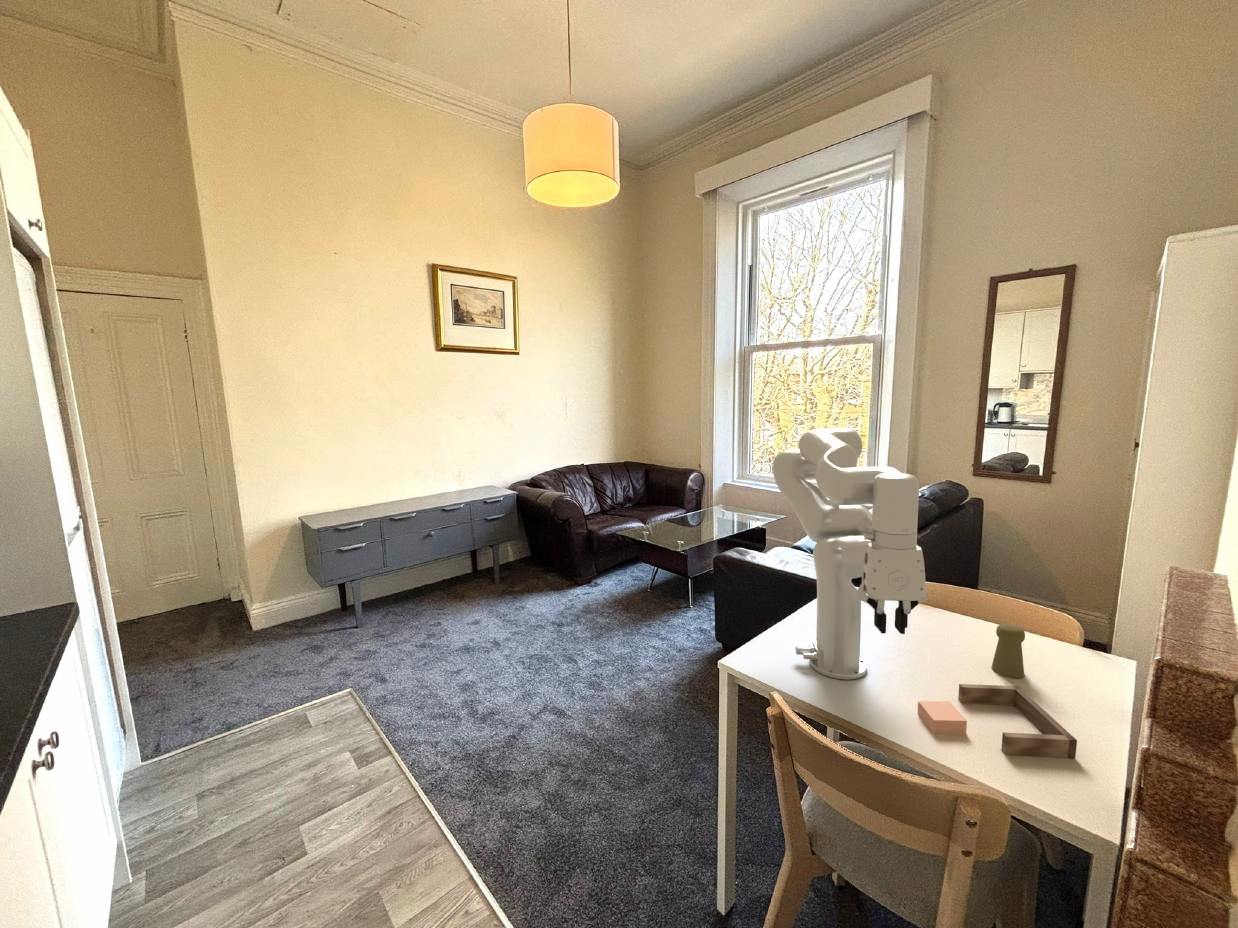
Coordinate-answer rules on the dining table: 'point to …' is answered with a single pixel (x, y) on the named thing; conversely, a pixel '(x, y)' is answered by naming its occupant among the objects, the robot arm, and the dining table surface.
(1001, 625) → the cork
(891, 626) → the dining table surface
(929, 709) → the terracotta block
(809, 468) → the robot arm
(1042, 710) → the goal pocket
